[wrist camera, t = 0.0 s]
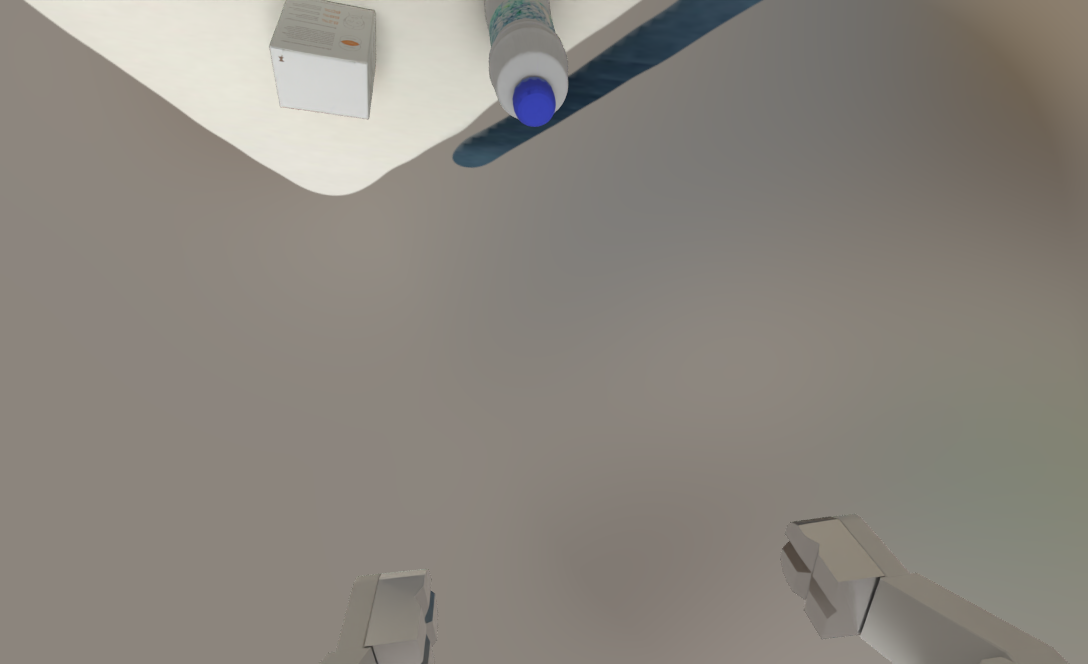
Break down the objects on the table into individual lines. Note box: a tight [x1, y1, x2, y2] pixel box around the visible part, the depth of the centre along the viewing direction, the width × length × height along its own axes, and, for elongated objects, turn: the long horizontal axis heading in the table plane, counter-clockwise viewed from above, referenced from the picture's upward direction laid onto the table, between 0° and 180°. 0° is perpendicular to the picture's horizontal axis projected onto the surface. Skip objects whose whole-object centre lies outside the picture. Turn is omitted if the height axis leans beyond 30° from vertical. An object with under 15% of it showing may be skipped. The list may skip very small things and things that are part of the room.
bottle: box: [484, 0, 568, 127], centre depth 45 cm, size 7×7×20 cm
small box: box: [269, 0, 376, 119], centre depth 48 cm, size 8×6×10 cm
